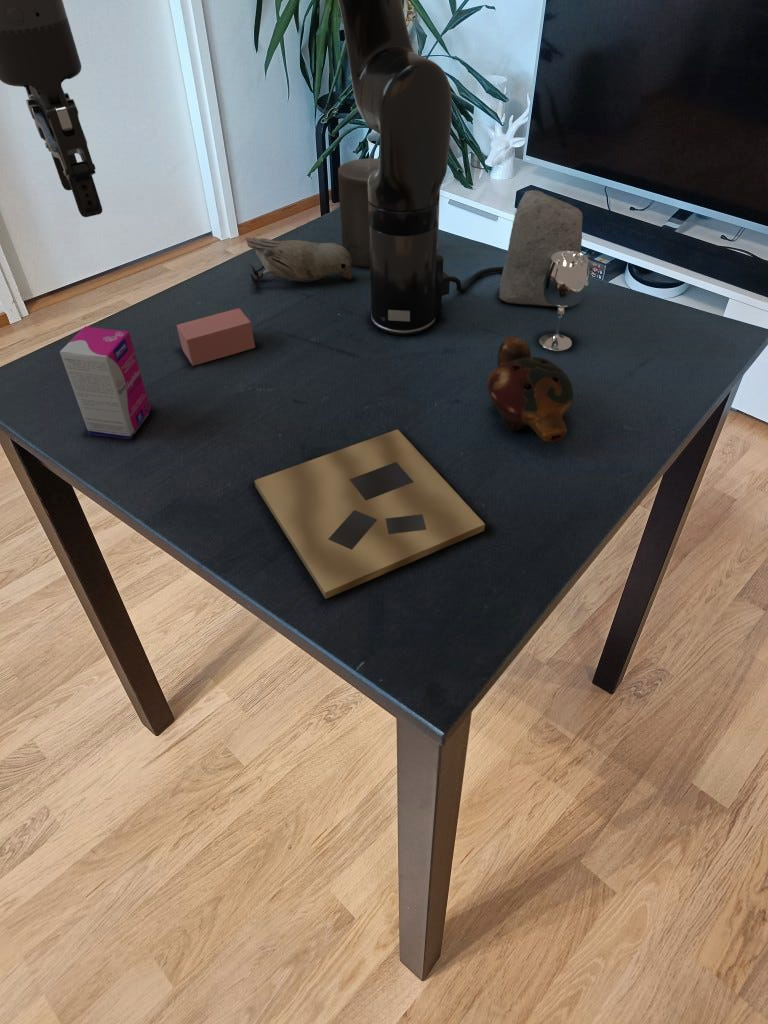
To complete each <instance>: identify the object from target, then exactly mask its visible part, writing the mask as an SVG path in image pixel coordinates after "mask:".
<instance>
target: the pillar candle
mask: <svg viewBox="0 0 768 1024" xmlns="http://www.w3.org/2000/svg"><path fill="white" fill-rule="evenodd" d="M379 166H380V158H377V157H376V158H361V159H360V158H359V159H352V160H349V161H347V162H344V163H343V164H341V165H340V166H338V169H337V170H338V171H337V174H338V175H337V177H338V178H337V179H338V195H339V196H338V197H339V213H340V225H341V228H340V229H341V243H342V244H341V245H342V246H343V247H344V248H345V249H346V250H347V251H348V252H349V254H350V256H351V259H352V263H353V265H352V266H355V267H360V268H370V247H369V218H368V178H369V176H370V174H371V173H372V172H373V171H374V170H376V169H378V168H379Z"/></svg>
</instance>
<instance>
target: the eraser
mask: <svg viewBox="0 0 768 1024" xmlns="http://www.w3.org/2000/svg"><path fill="white" fill-rule="evenodd" d="M176 328H177V333H178V337H179V341H180V345H181V349H182V351H183V353H184V355H185V356H186V357H187V359H188V361H189V363H190V364H191V365H192V366H193V367H194V366H198V365H201V364H204V363H207V362H208V363H209V362H211V361H215V360H217V359H221V358H225V357H228V356H232V355H236V354H239V353H241V352H242V353H243V352H246V351H250V350H252V349H255V348H256V343H255V339H254V337H255V336H254V331H253V325H252V321H251V320H250V319H249V318H248V317H247V315H246V314H245V313H244V312H243V311H242V309H241V308H240V307H238V308H234V309H230V310H227V311H222V312H219V313H216V314H212V315H208V316H204V317H200V318H197V319H193V320H189V321H185V322H182V323H179V324H178V323H177V324H176Z"/></svg>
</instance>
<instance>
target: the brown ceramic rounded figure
mask: <svg viewBox="0 0 768 1024" xmlns="http://www.w3.org/2000/svg"><path fill="white" fill-rule="evenodd" d="M531 353H532V352H531V349H530V345H529V344H528V343H527V341H526V340H524V339H522V338H520V337H517V336H507V337H506V338H505V339H504V340H503V341H502V342H501V343H500V345H499V347H498V351H497V367H495V368H494V369H493V370H492V371H491V372H490V374H489V376H488V379H487V392H488V396H489V398H490V400H491V402H492V405H493V407H494V408H495V409H496V410H497V412H498V413H499V416H500V417H501V419H502V422H503V424H504V426H505V428H506V429H507V430H508V431H510V432H518V431H519V430H521V429H522V428H523V427H525V426H528V427H529V428H531V430H532V431H533V432H535V434H536V435H537V436H538V437H539V439H540V440H541V441H543V442H544V443H546V444H555V443H558V442H560V441H562V440H563V439H564V438H565V436H566V434H567V431H568V430H567V426H566V423H565V421H564V418H563V416H564V414H565V413H566V412H567V411H568V410H569V409H570V407H571V406H572V404H573V401H574V390H573V386H572V385H573V384H572V382H571V380H570V379H569V376H567V374H566V373H565V372H564V371H563V370H562V368H561V367H559V366H558V365H557V364H555V363H554V362H552V361H550V360H549V359H547V358H545V357H539V356H531Z"/></svg>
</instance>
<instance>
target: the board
mask: <svg viewBox="0 0 768 1024" xmlns="http://www.w3.org/2000/svg"><path fill="white" fill-rule="evenodd" d="M253 481H254V487H255V489H256V490H257V492H258V493H259V495H260V496H261V498H262V500H263V501H264V503H265V504H266V506H267V508H268V509H269V511H270V512H271V514H272V516H273V517H274V519H275V521H276V522H277V524H278V525H279V527H280V529H281V530H282V531H283V533H284V534H285V536H286V538H287V539H288V541H289V543H290V544H291V546H292V548H293V549H294V551H295V552H296V555H297V556H298V557H299V559H300V561H301V562H302V564H303V565H304V566H305V568H306V570H307V571H308V573H309V575H310V577H311V578H312V579H313V581H314V583H315V584H316V586H317V588H318V589H319V591H320V592H321V594H322V596H323V597H324V599H326V600H327V599H330V598H332V597H334V596H336V595H340V594H341V593H343V592H345V591H348V590H350V589H352V588H355V587H357V586H360V585H362V584H364V583H366V582H369V581H371V580H374V579H376V578H379V577H380V576H382V575H386V574H388V573H390V572H392V571H394V570H397V569H399V568H401V567H403V566H406V565H408V564H411V563H413V562H416V561H417V560H419V559H422V558H424V557H427V556H429V555H432V554H434V553H436V552H438V551H441V550H443V549H445V548H447V547H450V546H452V545H454V544H457V543H459V542H461V541H464V540H467V539H468V538H472V537H473V536H476V535H478V534H480V533H482V532H484V531H485V529H486V523H484V521H483V520H482V519H481V518H480V517H479V516H478V515H477V514H476V513H475V511H474V510H473V509H472V508H471V507H470V506H469V505H468V504H467V503H466V502H465V501H464V500H463V498H462V497H461V496H460V495H459V494H458V493H457V492H456V491H455V490H454V489H453V487H452V486H451V485H450V484H449V483H448V482H447V481H446V480H445V479H444V478H443V477H442V476H441V474H440V473H439V472H438V471H437V470H436V469H435V468H434V467H433V466H432V464H431V463H430V462H429V461H427V459H426V458H425V457H424V456H423V455H422V454H421V453H420V452H419V451H418V449H417V448H416V447H415V446H414V445H413V444H412V443H411V442H410V441H409V440H408V439H407V437H406V436H405V435H404V434H403V433H402V432H401V430H399V429H398V428H397V429H394V430H391V431H388V432H386V433H382V434H380V435H377V436H375V437H372V438H369V439H366V440H363V441H360V442H357V443H355V444H352V445H349V446H347V447H344V448H341V449H338V450H336V451H335V450H334V451H332V452H330V453H327V454H324V455H321V456H319V457H315V458H313V459H310V460H307V461H304V462H302V463H298V464H296V465H293V466H291V467H288V468H285V469H282V470H279V471H277V472H274V473H271V474H268V475H265V476H263V477H259V478H257V479H254V480H253Z"/></svg>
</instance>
